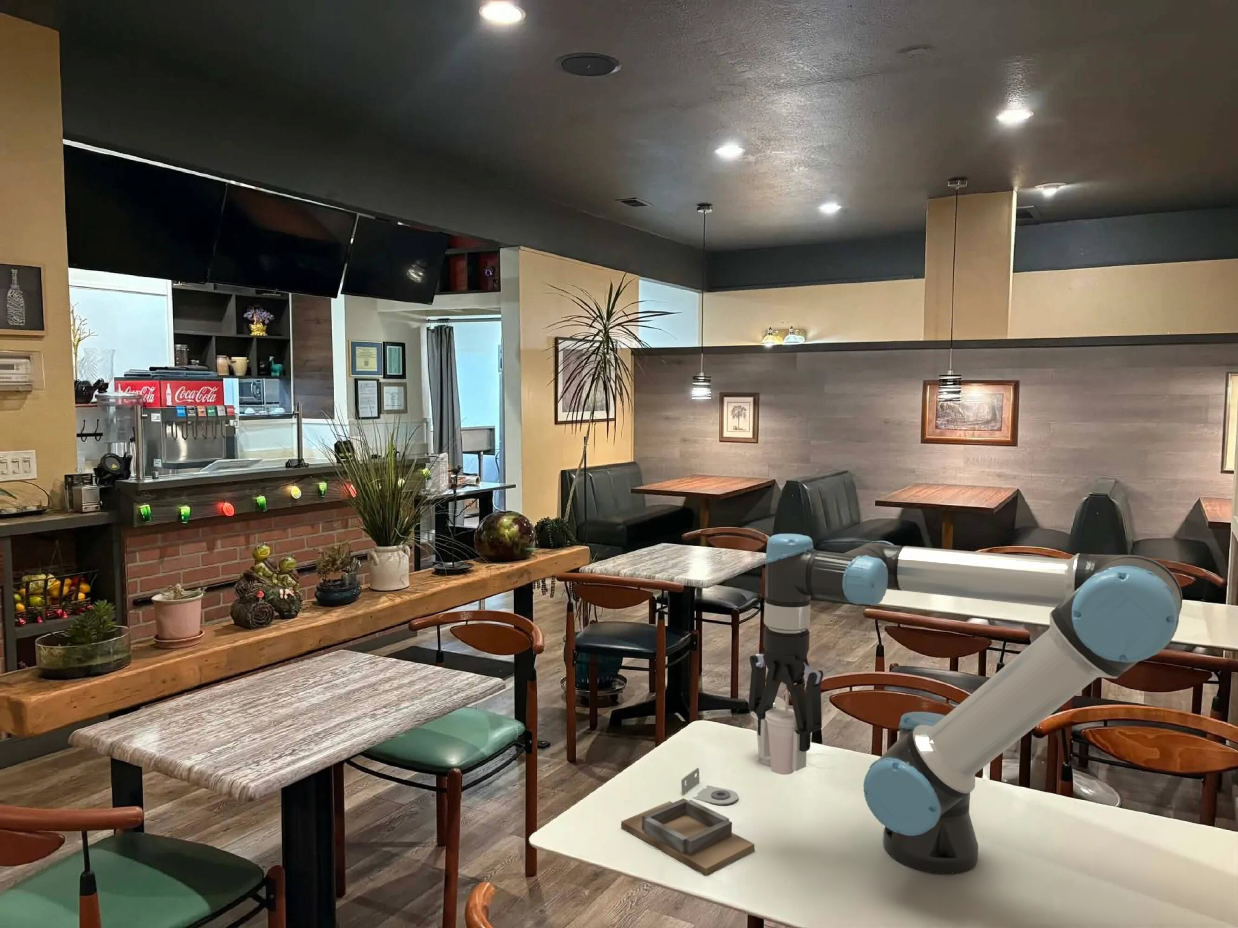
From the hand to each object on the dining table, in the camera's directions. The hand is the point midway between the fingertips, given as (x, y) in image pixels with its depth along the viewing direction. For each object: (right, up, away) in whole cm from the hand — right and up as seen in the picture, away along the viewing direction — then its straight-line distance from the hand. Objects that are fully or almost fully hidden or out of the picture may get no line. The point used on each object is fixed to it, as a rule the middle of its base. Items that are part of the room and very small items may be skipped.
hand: (782, 761), depth 152 cm
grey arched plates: (-10, -13, +20) cm, 26 cm away
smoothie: (0, -2, 0) cm, 2 cm away
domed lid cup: (+4, -12, +35) cm, 37 cm away
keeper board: (-16, -14, +2) cm, 21 cm away
